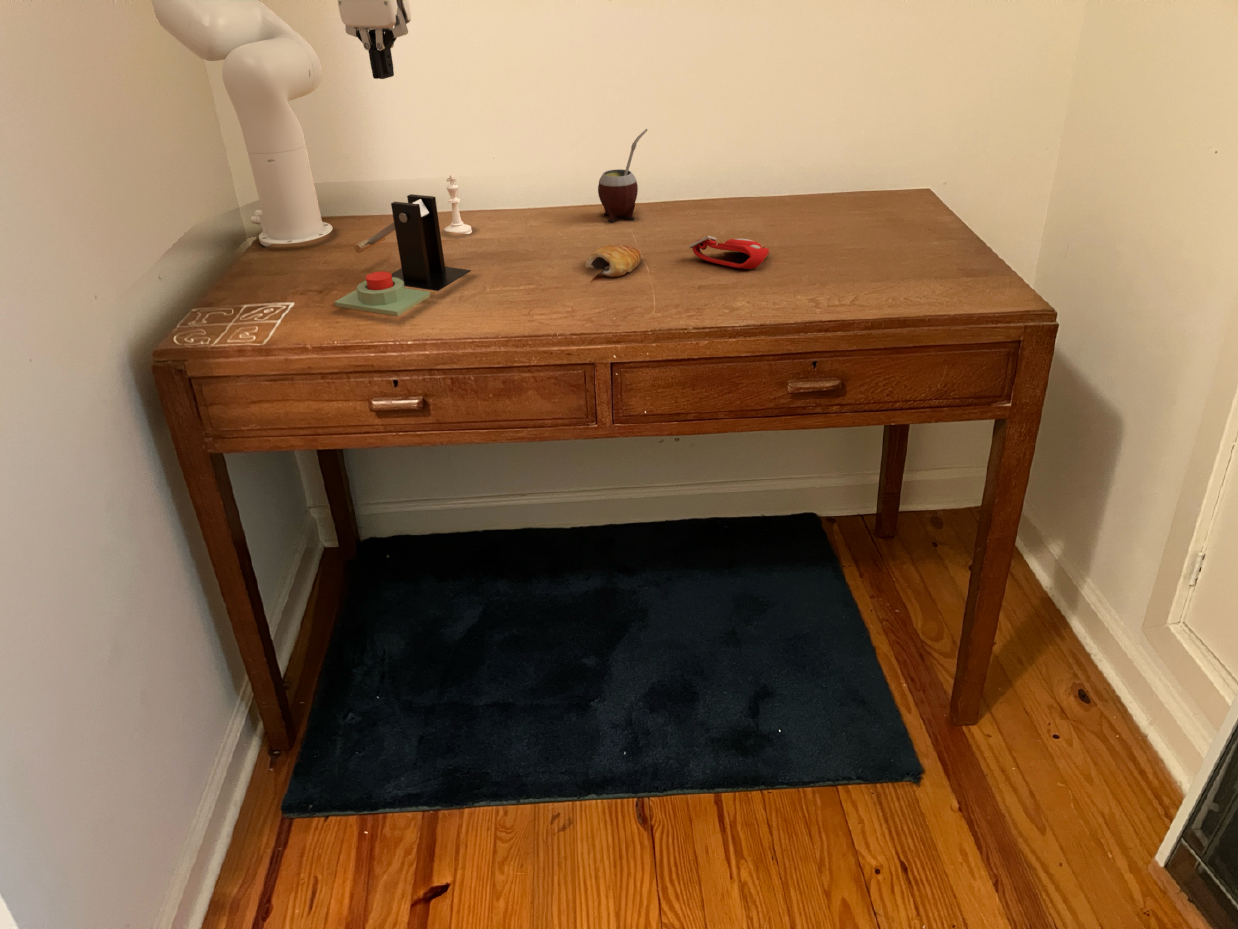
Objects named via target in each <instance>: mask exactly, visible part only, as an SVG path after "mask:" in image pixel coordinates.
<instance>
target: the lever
mask: <svg viewBox="0 0 1238 929" xmlns="http://www.w3.org/2000/svg"><path fill="white" fill-rule="evenodd" d="M413 204H419V205H420V211H421V218H423V217H425V216H426V215H428V214H429V211H428V210H427V208H426V207H425V205H424V203H423V202H422V200H421V199H419V200H417V201H415V202H413ZM394 232H396V231H395V225H394V221H393V222H391V223H390V224H388V225H387V226H385V227H384V228H383V229H381V230H380V231H378V232H377V233H375V234H374V235H372V236H371V237H368V238H366V239H364V240H361V241H360V242H358V243H356V244H355V245H354V246H353V250H355V252H356V253H358V254H360V253H362V252H364V251H366V250H369V249H371V248H372V247H374V246H376V245H378V244H380V243H382V242H384V241H385V240H386V237H387V236H389V235H390V234H392V233H394Z"/></svg>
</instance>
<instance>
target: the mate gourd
mask: <svg viewBox="0 0 1238 929" xmlns="http://www.w3.org/2000/svg"><path fill="white" fill-rule="evenodd" d="M647 132H648V128H645V129H644V130H643V131H642V132H640V134H639V135H637V137H636V138H635V139H634V141H633V142H632V143H631V147H630V152H629V156H628V160H627V164H626V167H625V169H619V168H618V169H610V170H606V171H604V172H602V175H601V176H600V178H599V180H598V186H597V193H598V198H599V201H600V203H601V205H602V206H603V209H604V213H603V217H606V218H609V219H607V221H608V224H613V223H614V222H617V221H619V220H626V221H630V222H631V221H634V220H635V216H634V212H635V207H636V201H637V198H638V192H639V186H638V182H637V181H638V180H637V178H636V176H635V175H634V173H633V172H632V171H631V170H630V167H631V162H632V159H633V155H634V152H635V150H636V148H637V144H638V142H639V141H640V140H641V138H642V137H643V136H644V135H645V134H646V133H647Z"/></svg>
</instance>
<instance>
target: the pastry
mask: <svg viewBox="0 0 1238 929" xmlns="http://www.w3.org/2000/svg"><path fill="white" fill-rule="evenodd" d="M640 263H641V251H640V249H638V248H635V247H632V246H631V245H628V244H622V245H621V244H613V245H612V244H607V245H602V246H601V247H600V248H597V249H594V250H593V251H592V253H590V256H589V257H588V258H587V261H586V262H585V265H584V266H585V268H589V269H595V270H596V269H597V270H601V271H600V272H598V273H597V274H596V276H606V277H609V278H610V277H617V278H619V277H621V276H624V275H626V273H628V272H629V273H631V272H632V271H633V270H635V269H636V268H637V267H638V266H639V264H640Z"/></svg>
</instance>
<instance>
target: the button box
mask: <svg viewBox="0 0 1238 929" xmlns="http://www.w3.org/2000/svg"><path fill="white" fill-rule="evenodd" d="M392 281H393V287H391V288H388V289H384V290H368V287H367V282H366V280H364V281H362V282H360V283H358V284H357V286H356V289H355V290H353V291H350V292H349V293H348V294H346V295H344V296H342V297H340V298H339V299H336V300H335V301H334V302H333V303H334V306H335V307H338V308H343V309H352V310H357V311H363V312H364V311H365V312H370V313H376V314H381V315H387V316H394V317H399V316H400V315H402V314H404V313H406V312H407V311H408V310H410V309H413V307H415V306H417V305H418V304H420V303H421V302H423V301H425V300H426V299H428V298H430V297H431V291H428V290H427V291H426V290H420V289H414V288H408V287H406V286H404V281H402V280H401V279H399V278H395V277H392Z"/></svg>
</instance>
